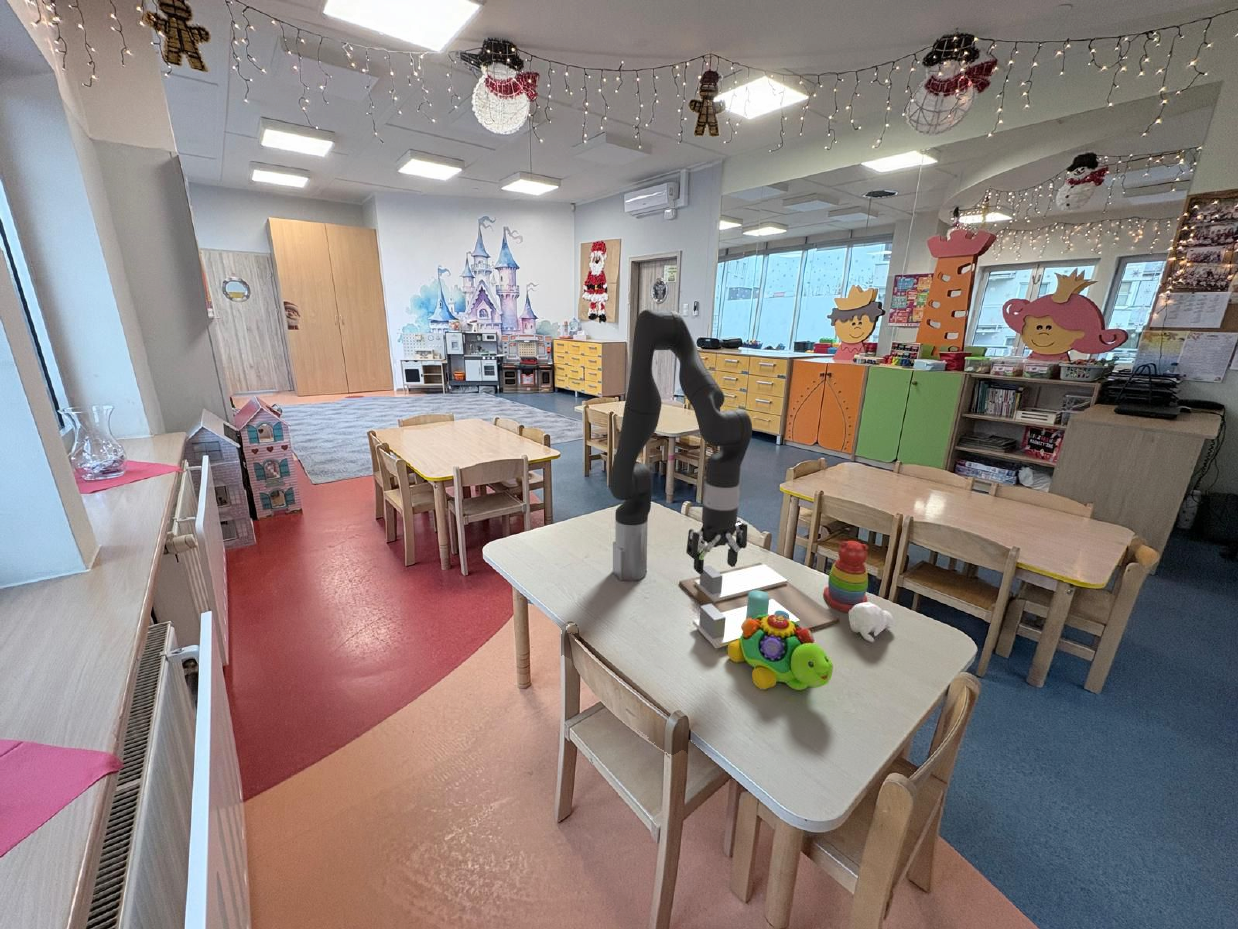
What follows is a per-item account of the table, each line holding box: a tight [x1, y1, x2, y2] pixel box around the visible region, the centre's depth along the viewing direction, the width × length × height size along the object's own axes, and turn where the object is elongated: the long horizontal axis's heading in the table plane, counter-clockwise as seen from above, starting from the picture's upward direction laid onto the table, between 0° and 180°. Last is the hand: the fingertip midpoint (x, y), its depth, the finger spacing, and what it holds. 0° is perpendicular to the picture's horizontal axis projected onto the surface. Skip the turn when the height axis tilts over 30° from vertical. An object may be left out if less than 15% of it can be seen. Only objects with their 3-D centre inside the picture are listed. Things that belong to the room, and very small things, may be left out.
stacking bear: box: [823, 540, 869, 613], centre depth 130 cm, size 11×10×18 cm
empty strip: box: [694, 563, 788, 602], centre depth 139 cm, size 24×10×6 cm, turn 113°
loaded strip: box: [692, 599, 800, 649], centre depth 121 cm, size 24×10×6 cm, turn 113°
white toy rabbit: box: [848, 601, 894, 643], centre depth 120 cm, size 6×8×12 cm
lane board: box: [678, 562, 841, 632], centre depth 133 cm, size 28×31×1 cm
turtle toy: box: [726, 610, 834, 691], centre depth 106 cm, size 17×23×12 cm
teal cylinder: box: [746, 590, 770, 619], centre depth 122 cm, size 5×5×6 cm
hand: (715, 568), depth 113 cm, fingers open, 8 cm apart
